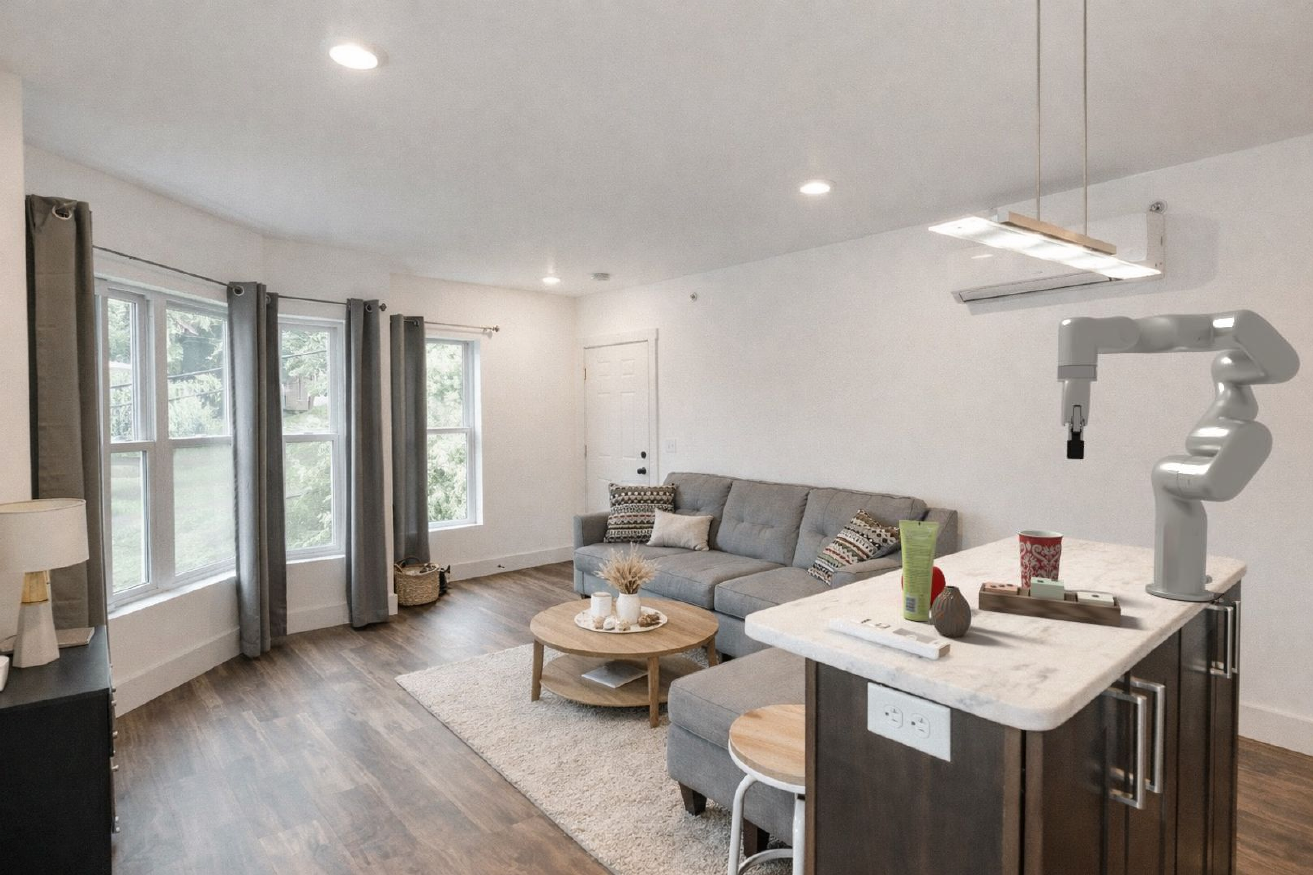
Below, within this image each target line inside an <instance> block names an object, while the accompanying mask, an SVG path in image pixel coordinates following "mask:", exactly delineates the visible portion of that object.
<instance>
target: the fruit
mask: <svg viewBox="0 0 1313 875" xmlns="http://www.w3.org/2000/svg"><path fill="white" fill-rule="evenodd" d="M943 572H944V571H942V570H941V568H939V567H938V566H934V565H933V574H932V585H931V599H930V606H932V605H933V603H934V601H935V599H936V598H937V597H938V596H939V594H940V593H941V592H942V591H943V589H944V587H945V586H947V582H946V577H945V575H944V573H943ZM900 580H901V581H900V583H901V590H902V591H903V573H902V574H901V579H900Z"/></svg>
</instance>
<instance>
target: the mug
mask: <svg viewBox="0 0 1313 875" xmlns="http://www.w3.org/2000/svg"><path fill="white" fill-rule="evenodd" d="M1017 534H1018V538H1019V539H1018V541H1019V557H1020V558H1019V562H1020V563H1019V564H1020V566H1019V567H1020V587H1027V588H1030V586H1031V577H1038V578H1048V579H1058V580H1059V574H1060V565H1061V564H1060V563H1061V562H1060V561H1061V556H1062V549H1063V548H1062V547H1063V546H1062V541H1063V537H1064V534H1062V533H1059V532H1056V531H1049V530H1039V529H1027V530H1026V529H1025V530H1020V531H1018V533H1017Z"/></svg>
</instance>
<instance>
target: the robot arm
mask: <svg viewBox="0 0 1313 875" xmlns="http://www.w3.org/2000/svg"><path fill="white" fill-rule="evenodd" d="M1057 332H1058V333H1057V336H1058V337H1057V338H1058V339H1057V340H1058V341H1057V376H1056V379H1057V383H1062V388H1061V401H1060V402H1061V404H1060V405H1061V408H1060V410H1061V411H1060V412H1061V413H1060V418H1061V419H1060V425H1061V426H1062V427H1066V424H1068V428H1067V429H1068V435H1067V438H1068V439H1067V440H1066V459H1068V460H1084V459H1085V440H1084V429H1085V428H1084V427H1087V426H1088V423H1089V416H1090V407H1091V385H1092V384H1091V383H1092V382H1097V381H1098V361H1099V359H1098V358H1099V355H1108V354H1109V355H1112V354H1116V355H1117V354H1148V355H1149V354H1167V353H1168V354H1169V353H1171V354H1172V353H1206V352H1208V353H1209V352H1219V351H1220V352H1219V353H1218V354H1217V355H1215V357H1214V358H1213V359H1212V362H1211V365H1210V375H1211V378H1212V382H1213V385H1214V386H1213V387H1214V394H1215V396H1214V399H1213V402H1212V403H1211V405H1210V406H1209V407H1208V409H1207V410H1206V411H1205V412H1204V414H1202V416H1201V417H1200V419H1199V420H1198V421H1197V422H1196V424H1195V425H1194V426H1193V427H1192V429H1191V430H1190V431H1189V432H1188V434H1187V436H1186V439H1185V440H1184V441H1185V442H1184V448H1185V450H1186V452H1187V453H1188V454H1189V455H1187V454H1172V455H1167V456H1164V457H1162V458H1160V459H1159V460H1157V462H1155V464H1154V465H1153V466H1152V469H1151V474H1150V478H1151V479H1150V480H1151V486H1152V491H1153V494H1154V503H1155V504H1154V506H1155V520H1154V521H1155V522H1154V554H1153V583H1152V582H1151V583H1148V584H1145V587H1144V590H1145V591H1146V592H1147V593H1149V594H1151V595H1153V596H1157V597H1162V598H1166V599H1171V600H1179V601H1188V602H1189V601H1190V602H1208V601H1212V600H1214V599H1215V594H1214V592H1212V591H1210V590H1208V589H1206V585H1208V584H1209V585H1210V584H1211V583H1212V582H1213V581H1214V579H1213V577H1212V576H1211V575H1209V574H1207V553H1208V552H1207V551H1208V550H1207V548H1208V547H1207V546H1208V524H1209V522H1208V521H1209V520H1208V515H1207V512H1206V509H1205V507H1204V504H1203V502H1202V501H1207V502H1215V503H1225V502H1228V501H1231V500H1233V499H1235V498H1236V497H1237V496H1238V495H1239V494H1240V493H1242V491H1243V490H1244V489H1245V488H1246V486H1248V484H1249V483H1250V481H1251V480H1252V479H1253V477H1254V476H1256V474H1257V473H1258V471H1259V470H1260V469H1261V468H1262V466H1263V465H1264V464H1265V462H1266V461H1267V459H1268V458H1269V456H1270V454H1271V451H1272V449H1273V435H1272V432H1271V430H1270V428H1268V426H1266V425H1265V424H1263V422H1260V421H1257V420H1256V418H1257V417H1258V414H1259V405H1258V401H1257V399H1256V397H1255V395H1254V392H1253V389H1252V386H1256V385H1279V384H1282V383H1287V382H1289V381H1290V380H1292V379H1293V378H1295V377H1296V375H1297V374H1298V373H1299V370H1300V365H1301V363H1300V362H1301V360H1300V356H1299V354H1298V353H1297V351H1296V349H1295V348H1294V347H1293V345H1291V344H1290V342H1289V341H1288V340H1286V338H1285V337H1283V336H1282V334H1280V332H1279V331H1278V330H1277V329H1276V328H1275V327H1274V326H1273V325H1272V324H1271V323H1270V322H1269V321H1268V320H1267V319H1266V318H1264V317H1263V316H1262V315H1260V314H1258V312H1255V311H1253V310H1250V309H1246V308H1245V309H1244V308H1243V309H1237V310H1229V311H1222V312H1213V313H1188V314H1187V313H1183V314H1182V313H1176V314H1175V313H1171V314H1170V313H1168V314H1158V315H1151V316H1146V317H1145V316H1144V317H1139V318H1134V319H1133V318H1131V317H1128V316H1123V315H1121V316H1120V315H1117V316H1109V317H1098V318H1096V317H1092V316H1075V317H1068V318H1064V319H1062V320H1061V321H1060V322H1059V323H1058V330H1057Z"/></svg>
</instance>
